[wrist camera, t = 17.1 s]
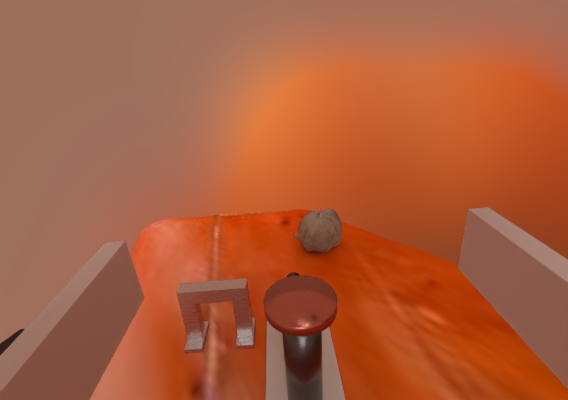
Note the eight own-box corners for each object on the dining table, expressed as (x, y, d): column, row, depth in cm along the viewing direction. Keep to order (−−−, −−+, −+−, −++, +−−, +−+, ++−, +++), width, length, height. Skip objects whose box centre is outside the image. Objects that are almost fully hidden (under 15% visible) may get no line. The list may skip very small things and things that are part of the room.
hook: (313, 282, 54) (311, 208, 48) (342, 426, 32) (344, 323, 27) (273, 285, 54) (266, 211, 48) (274, 431, 32) (262, 329, 27)
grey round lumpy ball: (335, 251, 67) (351, 210, 64) (332, 268, 59) (350, 222, 56) (295, 236, 69) (308, 195, 66) (287, 251, 61) (302, 205, 58)
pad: (323, 303, 50) (323, 301, 49) (349, 421, 33) (349, 419, 33) (267, 307, 49) (267, 305, 49) (265, 428, 33) (265, 426, 33)
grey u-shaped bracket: (255, 320, 47) (249, 271, 44) (253, 347, 43) (246, 295, 39) (193, 325, 47) (182, 276, 43) (185, 353, 42) (171, 301, 39)
